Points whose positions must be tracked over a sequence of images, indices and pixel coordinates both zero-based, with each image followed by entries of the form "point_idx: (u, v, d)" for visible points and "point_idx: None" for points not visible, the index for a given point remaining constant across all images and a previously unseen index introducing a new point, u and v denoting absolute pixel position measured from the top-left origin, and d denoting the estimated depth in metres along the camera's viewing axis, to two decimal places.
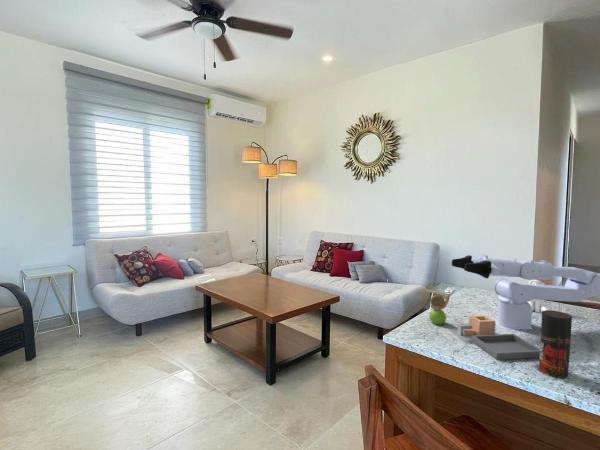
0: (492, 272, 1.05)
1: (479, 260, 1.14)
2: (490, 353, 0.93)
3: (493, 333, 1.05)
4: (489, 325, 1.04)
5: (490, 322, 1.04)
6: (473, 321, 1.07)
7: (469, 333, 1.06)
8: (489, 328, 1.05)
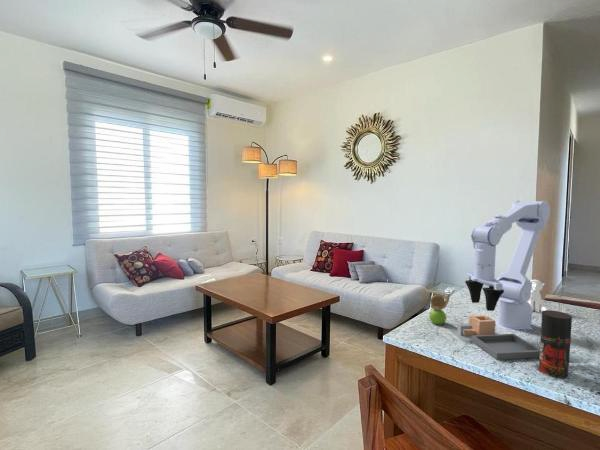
0: None
1: None
2: (490, 353, 0.93)
3: (493, 333, 1.05)
4: (489, 325, 1.04)
5: (490, 322, 1.04)
6: (473, 321, 1.07)
7: (469, 333, 1.06)
8: (489, 328, 1.05)
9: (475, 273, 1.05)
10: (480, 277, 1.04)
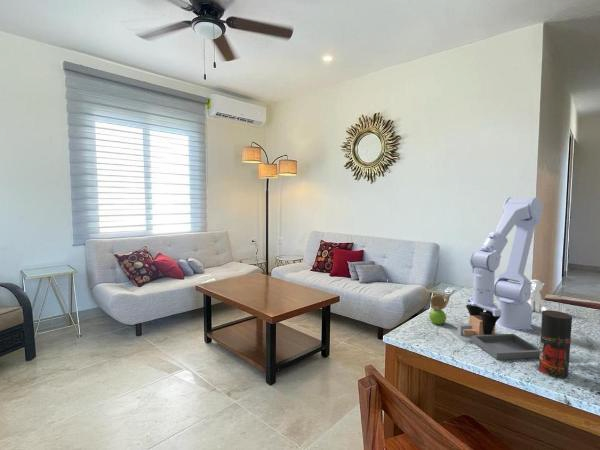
0: None
1: None
2: (490, 353, 0.93)
3: (493, 333, 1.05)
4: None
5: None
6: (473, 321, 1.07)
7: (469, 333, 1.06)
8: None
9: (474, 298, 1.06)
10: (479, 302, 1.04)
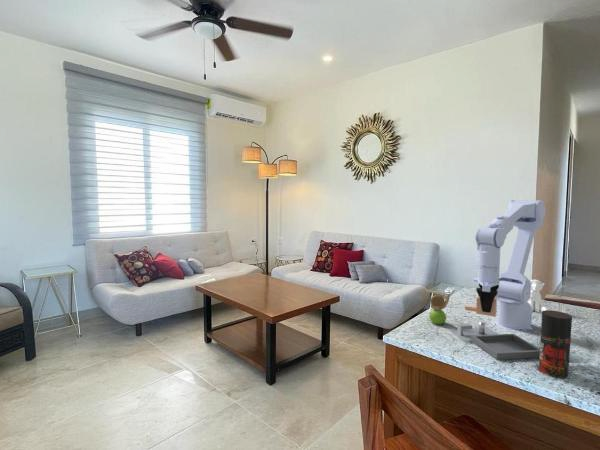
0: None
1: None
2: (490, 353, 0.93)
3: (493, 313, 1.01)
4: None
5: None
6: None
7: (470, 309, 1.07)
8: None
9: (478, 274, 1.05)
10: (479, 278, 1.04)
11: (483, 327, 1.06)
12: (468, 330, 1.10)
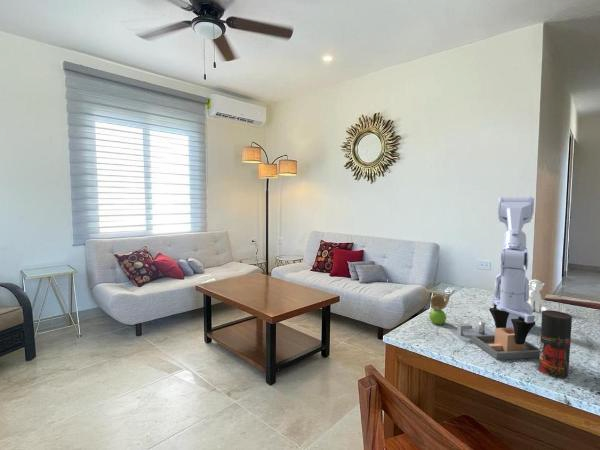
0: None
1: None
2: (490, 353, 0.93)
3: (522, 348, 0.94)
4: None
5: None
6: (499, 334, 0.96)
7: (495, 348, 0.95)
8: None
9: (502, 302, 0.95)
10: (508, 306, 0.93)
11: (483, 327, 1.06)
12: (468, 330, 1.10)
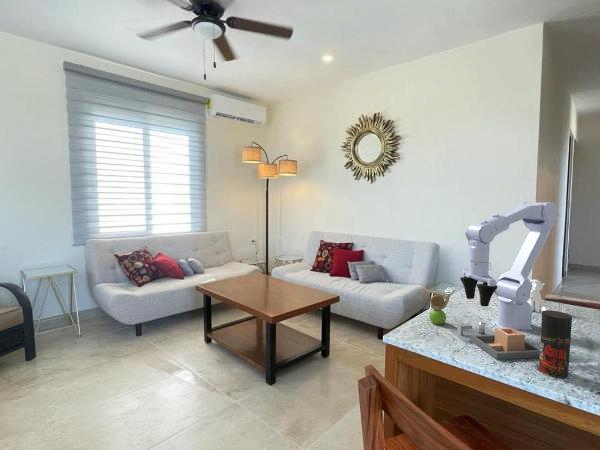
0: None
1: None
2: (490, 353, 0.93)
3: (522, 348, 0.94)
4: (518, 339, 0.94)
5: (519, 336, 0.94)
6: (499, 334, 0.96)
7: (495, 348, 0.95)
8: (518, 342, 0.94)
9: (469, 270, 1.08)
10: (474, 274, 1.07)
11: (483, 327, 1.06)
12: (468, 330, 1.10)
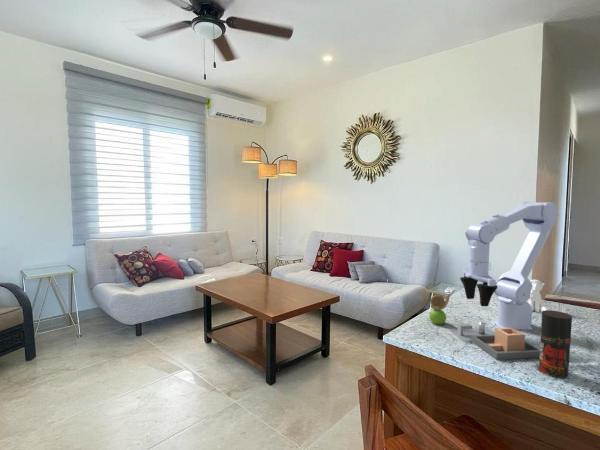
0: None
1: None
2: (490, 353, 0.93)
3: (522, 348, 0.94)
4: (518, 339, 0.94)
5: (519, 336, 0.94)
6: (499, 334, 0.96)
7: (495, 348, 0.95)
8: (518, 342, 0.94)
9: (469, 270, 1.08)
10: (474, 274, 1.07)
11: (483, 327, 1.06)
12: (468, 330, 1.10)
